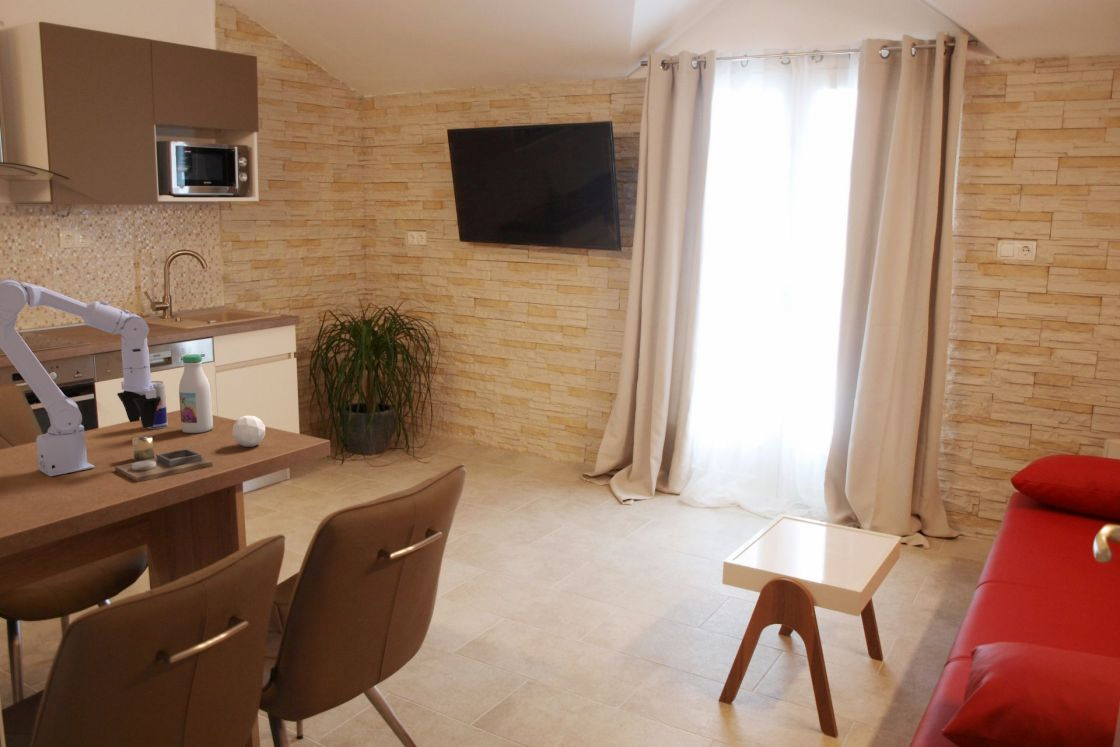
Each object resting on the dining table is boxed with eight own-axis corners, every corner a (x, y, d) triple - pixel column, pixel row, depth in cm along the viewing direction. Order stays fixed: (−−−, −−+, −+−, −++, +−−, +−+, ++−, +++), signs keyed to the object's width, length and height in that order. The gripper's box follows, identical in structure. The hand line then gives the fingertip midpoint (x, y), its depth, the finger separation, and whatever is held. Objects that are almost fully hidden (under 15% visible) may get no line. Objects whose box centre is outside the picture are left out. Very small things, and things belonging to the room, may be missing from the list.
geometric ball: (258, 456, 231) (269, 434, 227) (226, 448, 227) (236, 426, 223) (260, 435, 236) (271, 413, 232) (228, 427, 233) (239, 405, 229)
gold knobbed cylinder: (138, 462, 216) (136, 440, 215) (130, 459, 219) (128, 437, 218) (157, 458, 219) (155, 437, 218) (149, 455, 222) (147, 433, 221)
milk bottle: (207, 425, 251) (202, 351, 247) (217, 430, 245) (212, 355, 241) (177, 429, 246) (171, 354, 242) (187, 435, 240) (181, 358, 236)
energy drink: (144, 430, 245) (140, 385, 243) (147, 425, 251) (144, 381, 248) (166, 428, 247) (162, 384, 245) (169, 423, 252) (165, 380, 250)
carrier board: (137, 482, 201) (136, 470, 201) (115, 470, 210) (114, 459, 209) (212, 465, 213) (211, 455, 213) (189, 455, 222) (188, 445, 221)
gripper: (167, 368, 213) (171, 426, 215) (140, 360, 223) (145, 416, 225) (136, 372, 208) (141, 431, 210) (110, 364, 218) (115, 421, 220)
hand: (141, 424), depth 217 cm, fingers open, 7 cm apart
